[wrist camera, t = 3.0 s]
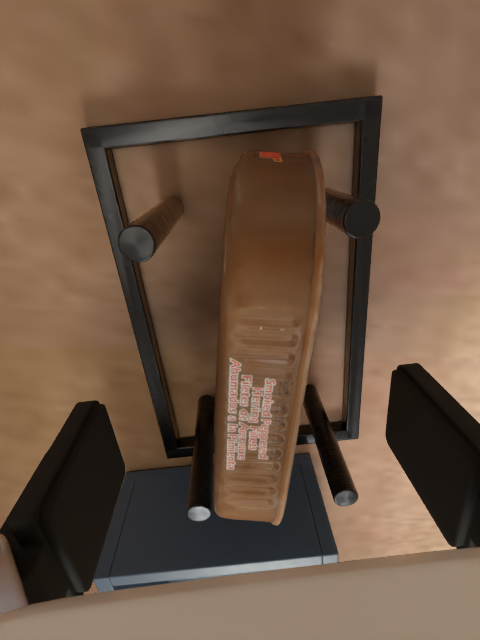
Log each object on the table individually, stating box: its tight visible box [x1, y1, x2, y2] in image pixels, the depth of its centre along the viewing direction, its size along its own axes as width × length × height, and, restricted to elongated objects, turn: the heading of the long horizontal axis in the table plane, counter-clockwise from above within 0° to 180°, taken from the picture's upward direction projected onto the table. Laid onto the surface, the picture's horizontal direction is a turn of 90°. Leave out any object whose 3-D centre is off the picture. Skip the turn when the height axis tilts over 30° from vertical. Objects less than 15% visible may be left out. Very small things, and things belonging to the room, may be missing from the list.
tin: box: [214, 151, 326, 525], centre depth 14 cm, size 15×3×8 cm, turn 177°
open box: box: [93, 453, 338, 593], centre depth 24 cm, size 12×20×6 cm, turn 6°
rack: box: [81, 95, 383, 521], centre depth 14 cm, size 12×18×7 cm, turn 6°
